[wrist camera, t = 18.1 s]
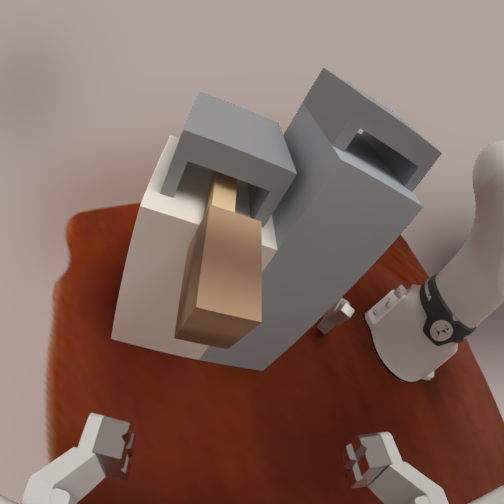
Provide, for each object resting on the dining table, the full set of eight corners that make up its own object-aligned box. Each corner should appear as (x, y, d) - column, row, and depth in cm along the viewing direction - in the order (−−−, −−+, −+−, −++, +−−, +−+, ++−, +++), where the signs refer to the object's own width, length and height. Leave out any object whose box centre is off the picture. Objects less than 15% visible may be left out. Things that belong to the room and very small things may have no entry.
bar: (227, 349, 17) (261, 322, 14) (174, 338, 16) (196, 307, 13) (240, 158, 27) (260, 123, 24) (208, 147, 26) (226, 110, 23)
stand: (262, 370, 36) (455, 166, 18) (110, 338, 30) (210, 23, 12) (256, 294, 45) (389, 108, 27) (131, 259, 39) (220, 20, 21)
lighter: (325, 313, 49) (356, 281, 44) (333, 320, 48) (365, 289, 43) (308, 339, 43) (343, 306, 38) (317, 346, 43) (353, 315, 38)
